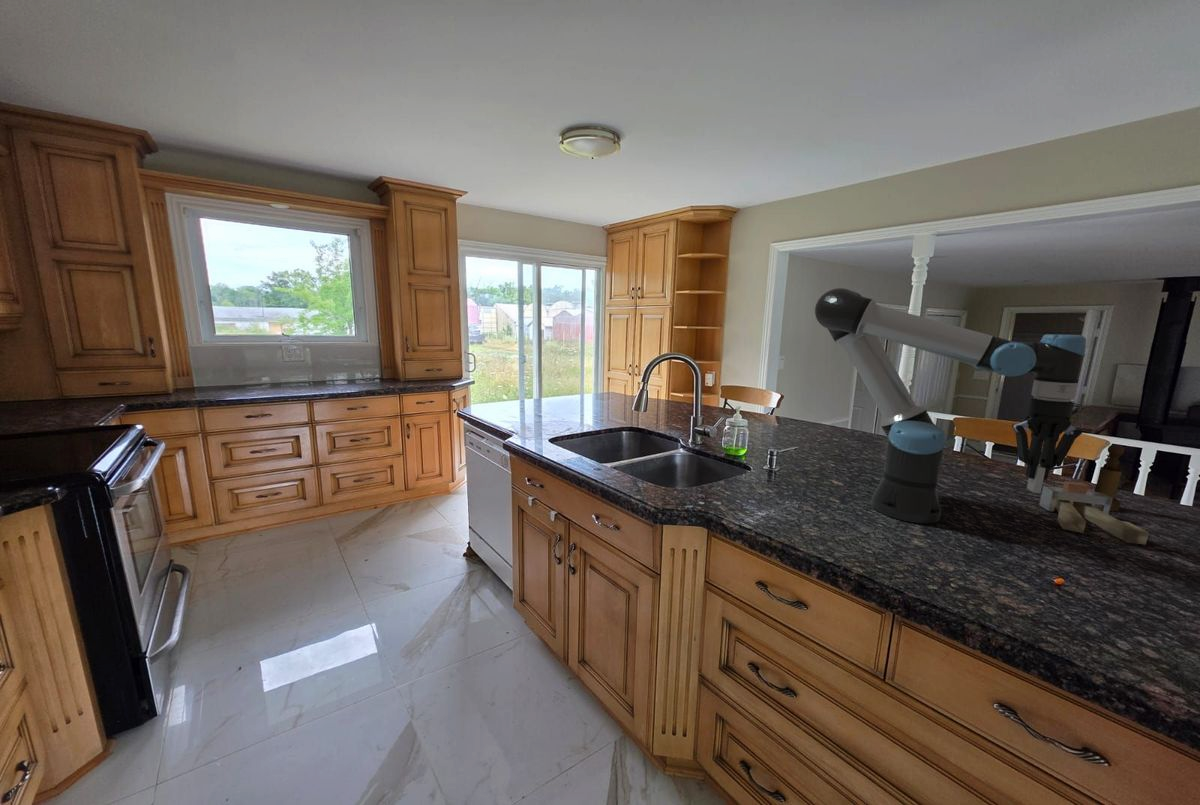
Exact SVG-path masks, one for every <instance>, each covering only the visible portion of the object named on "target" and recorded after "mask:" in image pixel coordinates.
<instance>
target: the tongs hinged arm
mask: <svg viewBox="0 0 1200 805" xmlns="http://www.w3.org/2000/svg"><path fill="white" fill-rule="evenodd" d="M1058 488H1060V487H1059V486H1058ZM1054 510H1056V511H1057V513H1058V515H1057V522H1058V524H1059V525H1060V527H1061V528H1062V529H1063V530H1066V531H1070V532H1071V531H1072V532H1076V533H1081V534H1084V531H1085V529H1086V524H1087V520H1086V519H1085V518H1083V517H1082V516H1081V515H1080V514H1079V513H1078V511H1077V510H1076V509H1075V508H1074V507H1073V505H1072V504H1071V503H1070V502H1069V501H1066V500H1058V499H1057V501H1056V505H1055V509H1054Z"/></svg>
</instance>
